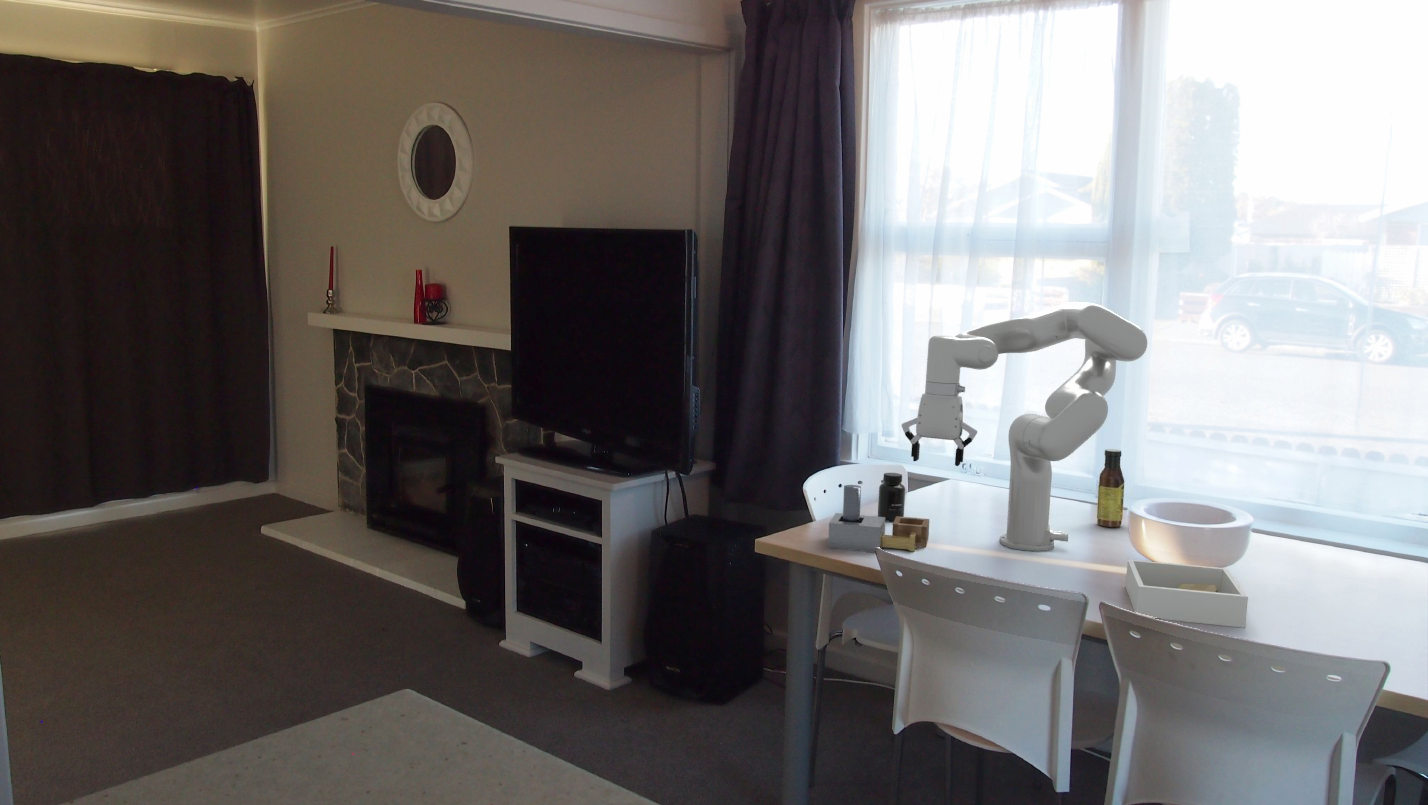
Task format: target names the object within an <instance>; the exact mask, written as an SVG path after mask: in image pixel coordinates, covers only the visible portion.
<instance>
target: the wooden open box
mask: <svg viewBox="0 0 1428 805" xmlns="http://www.w3.org/2000/svg"><path fill="white" fill-rule="evenodd" d="M929 531H930V518H923V517H922V518H920V517H909V516H904V517H899V516H896V518H895V520H894V522H893V523H892V533H891V535H893V536H904V537H910V534H911V532H913V533H916V548H925V549H926V548H927V546H928V542H929V537H930V536H929V535H930V532H929Z"/></svg>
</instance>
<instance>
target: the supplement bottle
mask: <svg viewBox="0 0 1428 805" xmlns="http://www.w3.org/2000/svg"><path fill="white" fill-rule="evenodd" d="M882 481H883V483H881V484H880V485H879V487H878V499H877V501H878V504H877V517H885V522H894V520H895V518H896V516H899V517H905V502H906V501H905V500H906V486H904V484H902V483H903V475H902V473H897V472H885V473H883V478H882Z"/></svg>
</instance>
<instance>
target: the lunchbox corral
mask: <svg viewBox="0 0 1428 805" xmlns="http://www.w3.org/2000/svg"><path fill="white" fill-rule="evenodd" d="M1181 584H1195V585H1215V586H1216V587H1217V591H1218V593H1217V592H1207V591H1196V590H1186V589H1178V587H1179V586H1180V585H1181ZM1125 590H1126V593H1127V595H1128V598H1129V600H1130V603H1131V606H1132V608H1133V611H1134V612H1135V611H1136V612H1138V613H1141V614H1145V615H1149V616H1153V617H1157V618H1161V619H1160V620H1166V621H1173V622H1174V621H1175V622H1176V621H1177V622H1184V623H1196V624H1203V625H1205V624H1206V625H1212V626H1213V625H1216V626H1224V627H1233V628H1243V629H1245V628H1246V624H1247V622H1246V621H1247V613H1248V612H1247V611H1248V602H1249V601H1248V600H1249V595H1247V593H1246V592H1245V590H1244V589H1243V587H1241V585H1240V584H1239V583H1238V581H1237V580H1236V579H1235V577H1234V576H1233V574H1232V573H1231V571H1230V570H1229V568H1226V567H1217V566H1205V565H1204V566H1203V565H1193V564H1183V563H1173V562H1160V561H1150V560H1141V559H1140V560H1137V559H1127V564H1126V576H1125Z"/></svg>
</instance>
